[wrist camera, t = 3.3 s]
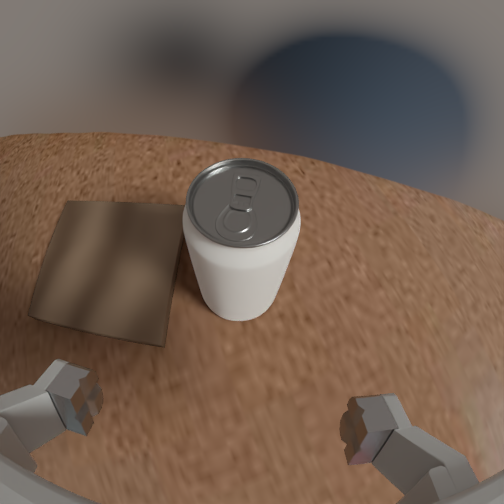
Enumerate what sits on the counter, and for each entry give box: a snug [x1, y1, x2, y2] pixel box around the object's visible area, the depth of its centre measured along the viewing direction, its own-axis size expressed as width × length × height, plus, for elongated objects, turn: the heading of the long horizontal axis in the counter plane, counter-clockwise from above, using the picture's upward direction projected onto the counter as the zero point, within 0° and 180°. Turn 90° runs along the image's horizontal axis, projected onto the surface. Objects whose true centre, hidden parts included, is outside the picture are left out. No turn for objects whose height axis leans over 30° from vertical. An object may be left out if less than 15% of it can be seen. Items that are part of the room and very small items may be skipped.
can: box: [183, 158, 301, 321], centre depth 20 cm, size 6×6×12 cm
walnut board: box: [28, 201, 185, 348], centre depth 24 cm, size 14×13×1 cm
